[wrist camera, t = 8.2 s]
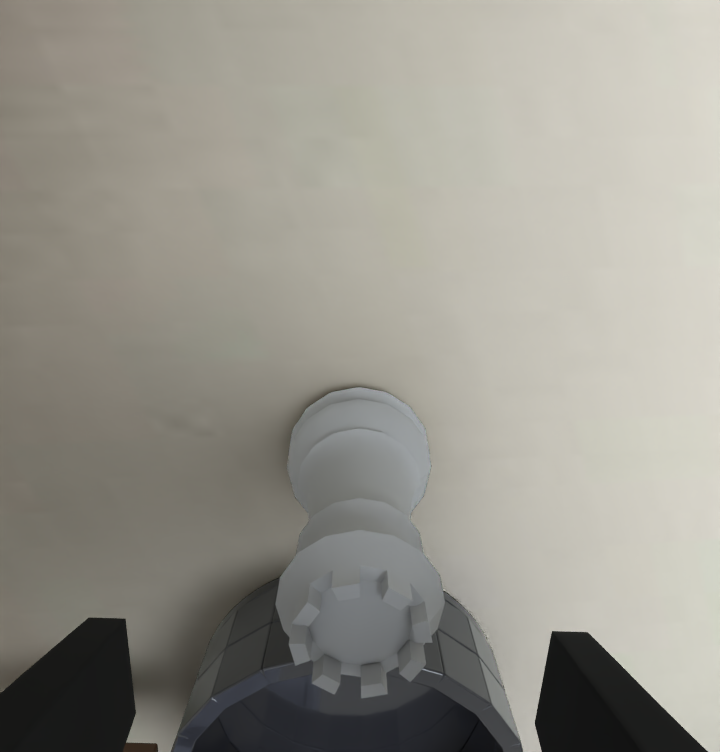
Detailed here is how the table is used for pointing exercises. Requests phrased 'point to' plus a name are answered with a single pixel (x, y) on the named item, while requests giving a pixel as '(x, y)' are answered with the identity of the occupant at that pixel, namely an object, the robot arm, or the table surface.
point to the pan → (343, 694)
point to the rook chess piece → (359, 542)
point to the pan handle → (140, 747)
